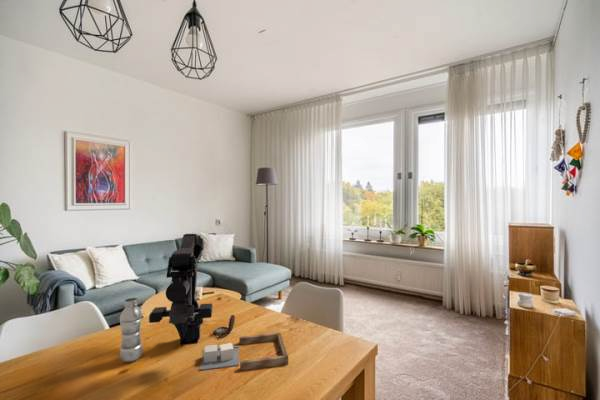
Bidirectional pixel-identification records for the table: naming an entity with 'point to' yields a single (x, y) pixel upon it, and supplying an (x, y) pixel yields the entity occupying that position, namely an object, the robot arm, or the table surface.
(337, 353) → the table surface
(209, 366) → the rubber tray
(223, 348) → the white square block
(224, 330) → the compass
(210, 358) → the cream matte cube
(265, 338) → the walnut corral
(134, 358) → the plastic bottle
